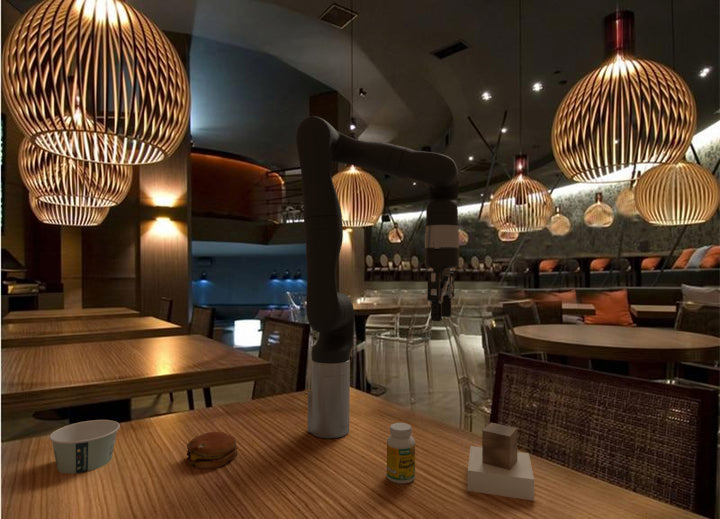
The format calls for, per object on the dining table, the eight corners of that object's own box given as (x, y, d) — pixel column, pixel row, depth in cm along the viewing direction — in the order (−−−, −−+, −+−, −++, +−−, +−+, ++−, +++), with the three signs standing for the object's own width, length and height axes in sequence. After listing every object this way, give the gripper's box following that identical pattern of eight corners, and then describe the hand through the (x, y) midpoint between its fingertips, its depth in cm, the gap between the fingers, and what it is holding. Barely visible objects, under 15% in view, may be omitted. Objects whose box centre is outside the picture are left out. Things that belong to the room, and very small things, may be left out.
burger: (240, 449, 94) (240, 427, 94) (231, 469, 85) (231, 445, 85) (193, 450, 93) (193, 428, 93) (179, 471, 84) (179, 447, 84)
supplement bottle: (402, 468, 85) (403, 419, 85) (421, 479, 81) (421, 427, 81) (380, 475, 82) (381, 424, 82) (398, 487, 78) (398, 433, 78)
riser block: (467, 493, 77) (467, 470, 77) (470, 466, 88) (470, 446, 88) (534, 503, 74) (534, 479, 74) (528, 473, 84) (528, 453, 84)
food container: (124, 465, 86) (124, 432, 86) (49, 483, 78) (50, 447, 78) (114, 445, 95) (115, 415, 95) (47, 460, 88) (47, 427, 88)
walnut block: (482, 463, 80) (482, 430, 80) (490, 453, 84) (490, 422, 84) (509, 470, 77) (509, 436, 77) (517, 460, 81) (517, 427, 81)
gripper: (434, 248, 105) (433, 314, 105) (415, 245, 92) (415, 321, 92) (465, 247, 102) (464, 316, 102) (450, 244, 89) (450, 323, 89)
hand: (441, 318), depth 97 cm, fingers open, 8 cm apart
